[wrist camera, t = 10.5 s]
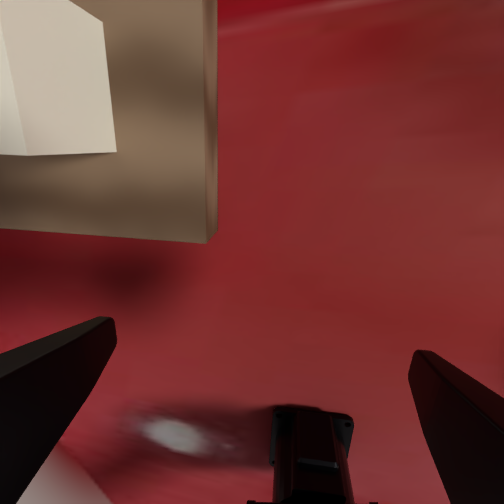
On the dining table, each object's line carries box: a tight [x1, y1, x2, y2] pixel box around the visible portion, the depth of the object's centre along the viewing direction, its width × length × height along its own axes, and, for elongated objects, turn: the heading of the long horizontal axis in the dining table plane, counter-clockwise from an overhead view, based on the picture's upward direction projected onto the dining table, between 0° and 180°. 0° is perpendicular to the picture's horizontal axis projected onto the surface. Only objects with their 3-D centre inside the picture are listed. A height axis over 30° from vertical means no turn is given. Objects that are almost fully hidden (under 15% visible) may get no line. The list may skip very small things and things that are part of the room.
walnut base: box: [0, 0, 218, 244], centre depth 17 cm, size 16×16×3 cm
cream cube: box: [0, 0, 117, 156], centre depth 13 cm, size 6×6×6 cm
